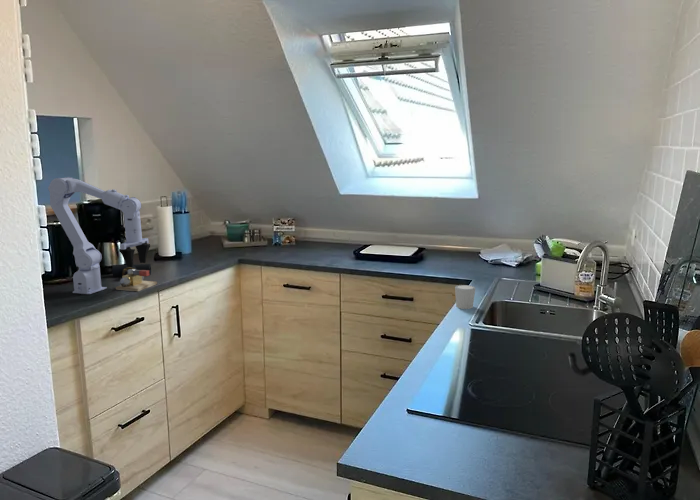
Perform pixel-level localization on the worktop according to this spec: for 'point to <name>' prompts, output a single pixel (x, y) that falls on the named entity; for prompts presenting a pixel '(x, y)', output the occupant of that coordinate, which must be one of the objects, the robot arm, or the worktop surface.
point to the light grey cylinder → (464, 296)
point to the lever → (138, 272)
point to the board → (137, 286)
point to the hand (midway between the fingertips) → (136, 264)
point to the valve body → (131, 280)
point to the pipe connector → (123, 269)
